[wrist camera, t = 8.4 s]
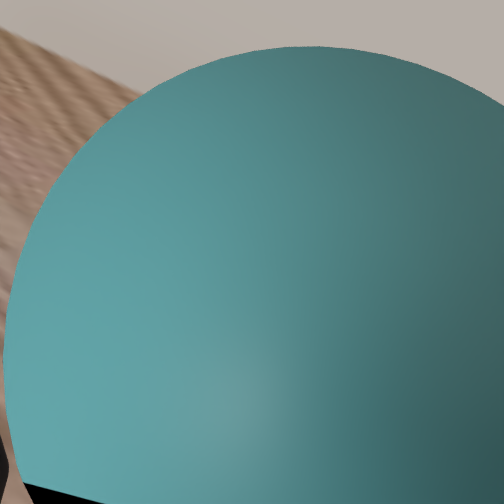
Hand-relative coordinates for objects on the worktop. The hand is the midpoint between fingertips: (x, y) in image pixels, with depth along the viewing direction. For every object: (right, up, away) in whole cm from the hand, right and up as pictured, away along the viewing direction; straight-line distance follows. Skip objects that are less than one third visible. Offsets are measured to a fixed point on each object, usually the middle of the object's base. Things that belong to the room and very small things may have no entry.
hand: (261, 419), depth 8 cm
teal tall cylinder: (-1, -2, +7) cm, 7 cm away
